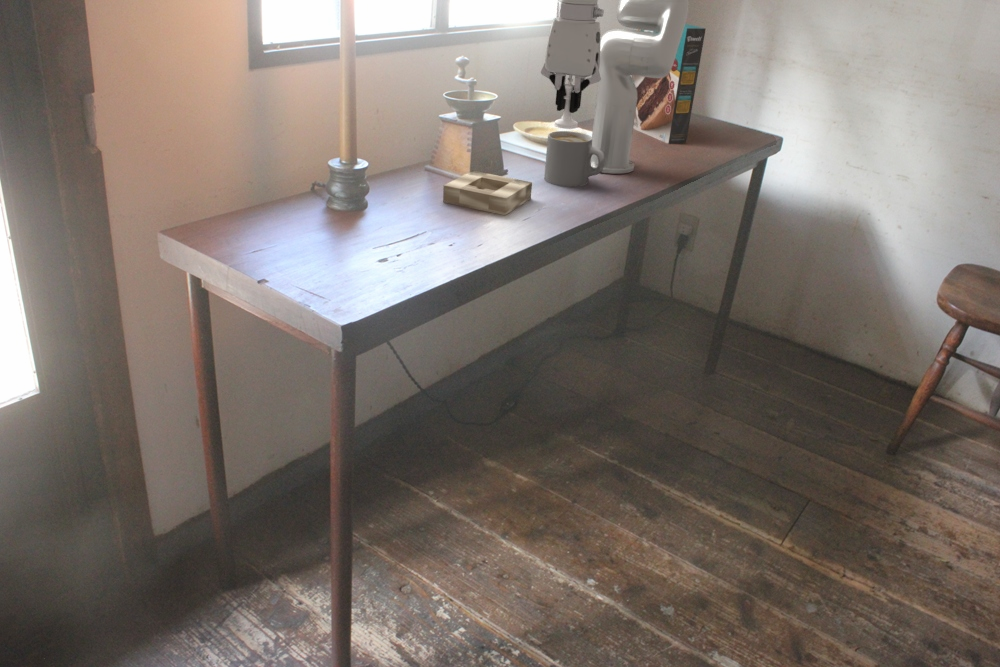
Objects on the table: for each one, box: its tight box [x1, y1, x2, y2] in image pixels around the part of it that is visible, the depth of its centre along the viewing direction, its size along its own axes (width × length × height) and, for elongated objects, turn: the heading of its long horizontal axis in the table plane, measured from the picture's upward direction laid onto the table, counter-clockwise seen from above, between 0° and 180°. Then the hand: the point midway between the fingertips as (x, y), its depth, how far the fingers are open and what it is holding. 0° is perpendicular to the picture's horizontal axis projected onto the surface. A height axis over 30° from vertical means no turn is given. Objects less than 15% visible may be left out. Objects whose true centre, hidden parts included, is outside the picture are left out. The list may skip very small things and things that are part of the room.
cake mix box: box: [631, 23, 706, 145], centre depth 221 cm, size 22×6×30 cm, turn 25°
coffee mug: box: [543, 130, 605, 188], centre depth 177 cm, size 13×10×10 cm
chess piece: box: [553, 75, 579, 130], centre depth 158 cm, size 5×5×10 cm
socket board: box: [442, 170, 533, 216], centre depth 163 cm, size 13×14×4 cm
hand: (567, 109), depth 159 cm, fingers closed on chess piece
